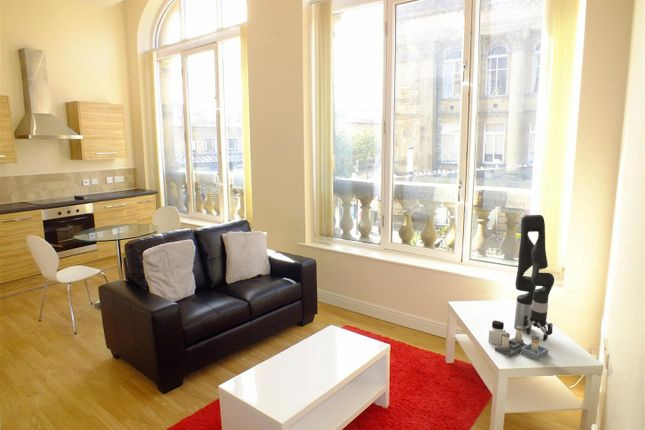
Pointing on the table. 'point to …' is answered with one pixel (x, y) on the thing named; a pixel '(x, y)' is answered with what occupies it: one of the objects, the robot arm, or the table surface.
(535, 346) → the marked fuse
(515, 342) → the fuse holder
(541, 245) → the robot arm
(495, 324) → the medicine bottle
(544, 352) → the tray
